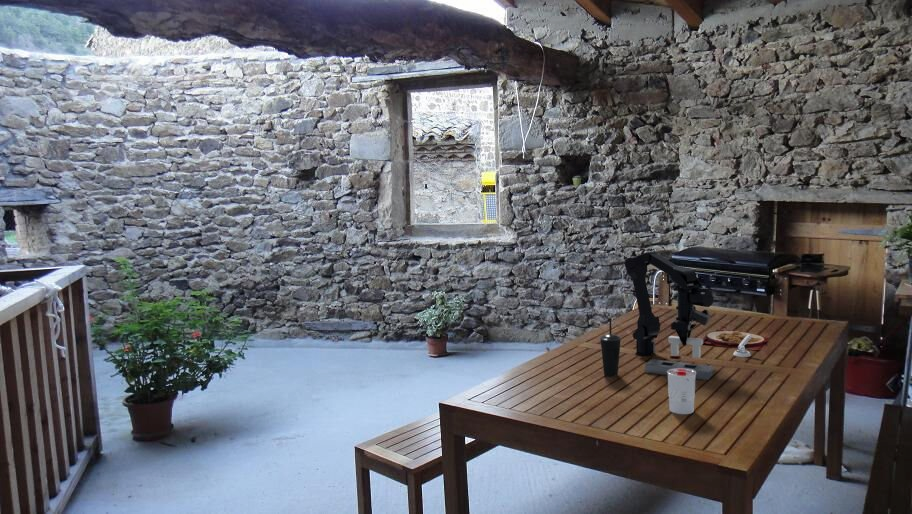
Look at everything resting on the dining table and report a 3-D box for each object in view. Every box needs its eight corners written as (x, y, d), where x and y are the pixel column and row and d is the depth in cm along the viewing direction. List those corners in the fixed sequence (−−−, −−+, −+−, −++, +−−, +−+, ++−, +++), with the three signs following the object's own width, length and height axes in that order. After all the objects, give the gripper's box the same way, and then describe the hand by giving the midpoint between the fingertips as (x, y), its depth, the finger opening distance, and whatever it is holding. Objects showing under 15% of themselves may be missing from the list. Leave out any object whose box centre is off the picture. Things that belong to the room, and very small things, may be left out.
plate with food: (697, 345, 282) (697, 337, 281) (717, 332, 302) (717, 324, 302) (759, 354, 267) (759, 345, 266) (775, 339, 287) (775, 331, 287)
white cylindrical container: (661, 406, 207) (661, 368, 205) (687, 404, 207) (688, 366, 206) (674, 417, 197) (674, 377, 195) (702, 415, 197) (702, 375, 196)
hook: (764, 345, 258) (753, 338, 257) (747, 365, 260) (737, 358, 259) (755, 338, 264) (745, 331, 263) (739, 358, 266) (729, 351, 265)
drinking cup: (622, 372, 244) (622, 318, 242) (620, 378, 237) (620, 322, 235) (601, 371, 247) (600, 317, 245) (598, 376, 239) (598, 322, 237)
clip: (668, 355, 253) (668, 337, 253) (670, 353, 256) (670, 335, 255) (701, 358, 247) (701, 340, 246) (703, 357, 249) (703, 338, 248)
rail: (645, 372, 243) (645, 364, 243) (651, 366, 250) (651, 359, 249) (708, 380, 231) (708, 371, 231) (713, 374, 238) (713, 366, 237)
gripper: (702, 309, 237) (701, 352, 239) (713, 300, 252) (713, 341, 254) (670, 307, 243) (670, 349, 245) (683, 298, 259) (683, 338, 260)
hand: (685, 344), depth 251 cm, fingers closed on clip, 3 cm apart
